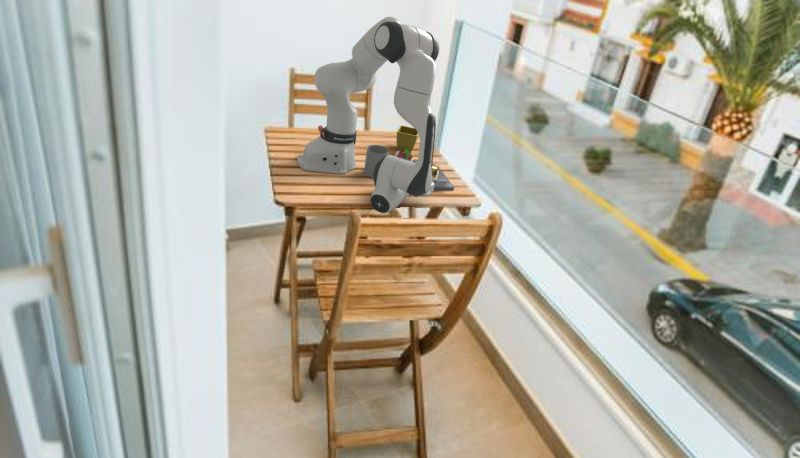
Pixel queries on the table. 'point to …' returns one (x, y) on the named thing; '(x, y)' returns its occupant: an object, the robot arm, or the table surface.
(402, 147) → the flower pot
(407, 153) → the geometric puzzle
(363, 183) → the table surface
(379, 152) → the cup
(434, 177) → the carrier
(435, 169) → the sun gear
